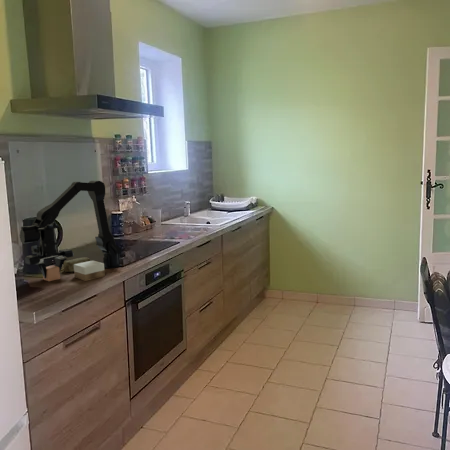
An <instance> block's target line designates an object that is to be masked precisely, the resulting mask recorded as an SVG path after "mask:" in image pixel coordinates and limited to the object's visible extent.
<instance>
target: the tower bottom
mask: <svg viewBox="0 0 450 450" xmlns="http://www.w3.org/2000/svg"><path fill="white" fill-rule="evenodd" d="M105 275H106V273H105V269H104V270H103V271H99V272H94V273H90V274H86V275H85V274H81V273H78V272H75V271H74V278H75V279H78V280H82V281H84V282H85V281H86V282H87V281H90V280H91V281H92V280H95V279H98V278H103V277H105Z"/></svg>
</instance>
